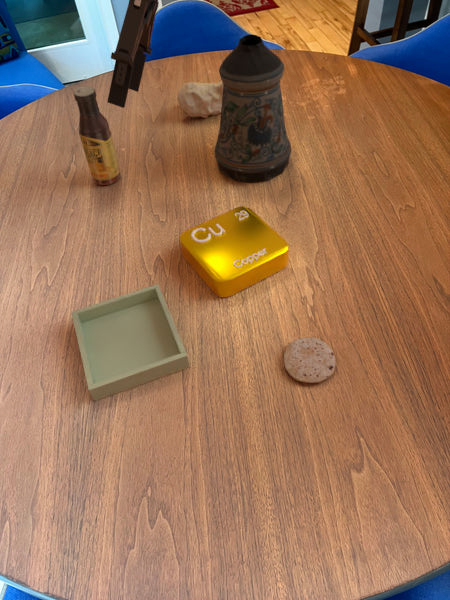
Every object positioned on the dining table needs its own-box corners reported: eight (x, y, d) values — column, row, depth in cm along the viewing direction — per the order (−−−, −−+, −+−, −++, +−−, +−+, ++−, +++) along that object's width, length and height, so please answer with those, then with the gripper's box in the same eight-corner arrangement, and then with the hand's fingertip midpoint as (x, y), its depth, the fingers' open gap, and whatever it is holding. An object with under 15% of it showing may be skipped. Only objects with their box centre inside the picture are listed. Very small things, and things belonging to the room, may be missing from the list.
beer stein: (234, 192, 99) (227, 70, 80) (199, 148, 111) (185, 32, 92) (304, 169, 103) (313, 47, 84) (263, 128, 115) (262, 13, 96)
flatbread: (334, 387, 68) (335, 384, 67) (281, 381, 69) (281, 377, 68) (335, 341, 73) (336, 337, 72) (286, 336, 74) (286, 332, 73)
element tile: (220, 302, 80) (218, 283, 76) (178, 252, 88) (174, 232, 85) (293, 265, 84) (294, 244, 81) (245, 220, 93) (244, 200, 89)
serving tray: (76, 323, 79) (71, 311, 77) (161, 295, 82) (158, 283, 79) (94, 401, 69) (88, 390, 67) (190, 367, 72) (187, 355, 70)
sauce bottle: (87, 181, 105) (57, 93, 90) (107, 167, 108) (81, 79, 93) (108, 190, 102) (81, 101, 87) (128, 175, 106) (105, 86, 91)
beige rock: (169, 125, 122) (192, 106, 109) (166, 96, 122) (188, 72, 108) (222, 127, 129) (250, 108, 116) (219, 99, 129) (247, 77, 115)
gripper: (169, -39, 62) (132, 121, 73) (185, -34, 83) (154, 90, 94) (112, -63, 61) (83, 104, 72) (143, -52, 82) (117, 76, 93)
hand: (123, 96), depth 83 cm, fingers open, 13 cm apart
